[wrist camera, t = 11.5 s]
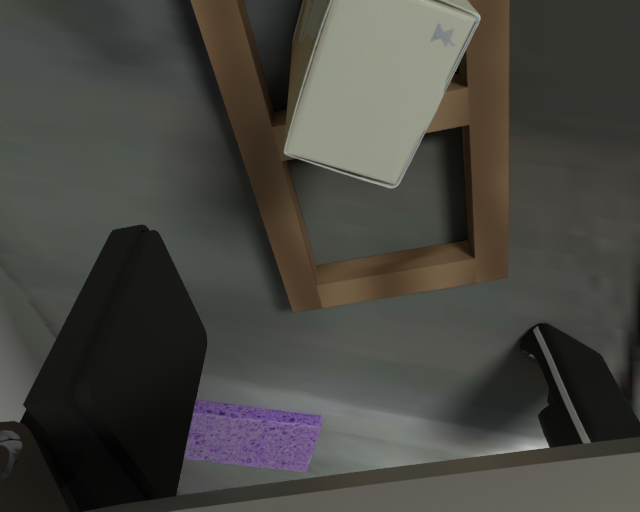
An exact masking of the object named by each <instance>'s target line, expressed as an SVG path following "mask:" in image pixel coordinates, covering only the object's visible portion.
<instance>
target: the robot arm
mask: <svg viewBox="0 0 640 512" xmlns="http://www.w3.org/2000/svg"><path fill="white" fill-rule="evenodd" d="M206 348H207V336H206V331H205V328H204V326H203V324H202V322H201V320H200V318H199V316H198V314H197V311H196V309H195V307H194V305H193V303H192V301H191V299H190V297H189V295H188V293H187V290H186V288H185V286H184V284H183V282H182V280H181V278H180V276H179V274H178V272H177V269H176V267H175V265H174V263H173V261H172V259H171V257H170V255H169V253H168V251H167V248H166V246H165V244H164V242H163V240H162V238H161V236H160V234H159V233H158V232H157V231H155V230H152V231H150V230H149V229H148V228H147V227H146V226H145V225H137V226H132V227H126V228H121V229H116V230H113V231H112V232H111V233H110V235H109V237H108V239H107V241H106V243H105V245H104V247H103V249H102V251H101V253H100V255H99V257H98V259H97V260H96V262H95V264H94V266H93V268H92V270H91V272H90V274H89V276H88V278H87V280H86V282H85V284H84V286H83V288H82V290H81V292H80V294H79V296H78V298H77V300H76V302H75V304H74V306H73V308H72V310H71V312H70V313H69V315H68V317H67V319H66V321H65V323H64V325H63V327H62V329H61V331H60V333H59V335H58V337H57V339H56V341H55V343H54V345H53V347H52V349H51V351H50V353H49V355H48V357H47V359H46V361H45V363H44V365H43V366H42V369H41V370H40V372H39V374H38V376H37V378H36V380H35V382H34V384H33V386H32V388H31V390H30V392H29V394H28V396H27V398H26V400H25V402H24V404H23V405H24V407H25V408H26V412H25V413H24V415H23V417H22V419H21V421H20V423H19V422H15V421H9V422H0V512H640V437H635V438H626V439H618V440H609V441H601V442H593V443H585V444H577V445H569V446H561V447H553V448H544V449H536V450H528V451H520V452H512V453H504V454H496V455H488V456H480V457H472V458H464V459H456V460H448V461H440V462H432V463H424V464H416V465H408V466H400V467H392V468H384V469H376V470H369V471H361V472H353V473H345V474H338V475H330V476H322V477H314V478H307V479H299V480H291V481H284V482H276V483H268V484H260V485H253V486H245V487H237V488H230V489H222V490H215V491H208V492H201V493H194V494H188V495H181V496H176V493H177V489H178V484H179V479H180V474H181V469H182V464H183V460H184V455H185V450H186V445H187V440H188V435H189V431H190V426H191V421H192V416H193V411H194V406H195V402H196V397H197V392H198V387H199V382H200V377H201V372H202V368H203V363H204V358H205V353H206Z"/></svg>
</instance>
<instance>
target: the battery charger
mask: <svg viewBox="0 0 640 512" xmlns="http://www.w3.org/2000/svg"><path fill="white" fill-rule="evenodd" d="M520 348H521V352H522V354H523V355H524V356H525V357H527V358H529V359H530V360H532V361H534V362H536V363H538V364H540V367H541V369H542V371H543V374H544V376H545V379H546V381H547V384H548V386H549V394H548V399H547V401H548V404H549V406H547V407H546V408H544V409H543V410H542V411H541V412H540V413H539V415H538V418H539V421H540V424H541V427H542V430H543V433H544V435H545V438H546V440H547V442H548V445H549V447H550V448H553V447H561V446H569V445H577V444H585V443H593V442H601V441H609V440H618V439H626V438H635V437H640V422H639V420H638V418H637V417H636V415H635V413H634V412H633V410H632V408H631V406H630V405H629V403H628V401H627V400H626V398H625V396H624V395H623V393H622V391H621V390H620V388H619V386H618V384H617V383H616V381H615V379H614V377H613V375H612V374H611V372H610V370H609V368H608V366H607V365H606V363H605V361H604V359H603V357H602V356H601V355H600V354H599V353H597V352H596V351H594V350H592V349H591V348H589V347H587V346H586V345H584V344H582V343H581V342H579V341H577V340H576V339H574V338H572V337H570V336H569V335H567V334H565V333H563V332H562V331H560V330H558V329H556V328H554V327H553V326H551V325H549V324H547V323H544V324H542V325H540V326H537V327H536V328H534V329H533V332H531V333H530V334H529V335H528V336H527V337H526V338H525V339H524V340H523V341H522V343H521V345H520Z"/></svg>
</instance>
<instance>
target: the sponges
mask: <svg viewBox="0 0 640 512" xmlns="http://www.w3.org/2000/svg"><path fill="white" fill-rule="evenodd" d="M321 420H322V416H321V415H309V414H303V413H294V412H284V411H278V410H269V409H262V408H254V407H246V406H238V405H231V404H220V403H216V402H208V401H200V400H196V402H195V406H194V411H193V416H192V421H191V426H190V431H189V435H188V440H187V445H186V450H185V455H184V459H187V460H195V461H205V460H206V459H207V460H211V461H212V462H219V463H224V464H235V465H244V466H251V467H259V468H270V469H283V470H289V471H297V472H307V470H308V467H309V463H310V460H311V456H312V453H313V449H314V446H315V444H316V440H317V437H318V435H319V432H320V429H321Z"/></svg>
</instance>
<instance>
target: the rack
mask: <svg viewBox="0 0 640 512" xmlns="http://www.w3.org/2000/svg"><path fill="white" fill-rule="evenodd" d="M468 2H469V3H470V4H471V5H472V7H473V8H474V9H475V10H476V11H477V12H478V13H479V15H480V17H481V19H480V22H479V25H478V26H477V28H476V30H475V32H474V34H473V36H472V38H471V40H470V42H469V44H468V47H467V49H466V51H465V53H464V55H463V57H462V59H461V61H460V63H459V74H455V75H453V77H452V79H451V81H450V83H449V85H448V87H447V89H446V91H445V94H444V96H443V98H442V100H441V102H440V104H439V107H438V109H437V111H436V113H435V115H434V117H433V119H432V121H431V123H430V125H429V127H428V129H427V130H426V132H425V133H430V132H435V131H440V130H445V129H450V128H455V127H460V126H462V139H463V158H464V177H465V196H466V215H467V235H468V240H464V241H458V242H452V243H446V244H441V245H435V246H429V247H423V248H417V249H412V250H406V251H400V252H394V253H388V254H382V255H377V256H371V257H365V258H359V259H353V260H347V261H342V262H336V263H330V264H324V265H318V266H316V264H315V260H314V256H313V253H312V249H311V245H310V242H309V238H308V234H307V231H306V227H305V223H304V220H303V216H302V212H301V209H300V205H299V201H298V198H297V194H296V190H295V187H294V183H293V179H292V176H291V172H290V168H289V165H288V161H287V160H291V159H296V158H293V157H290V156H287V155H285V154H284V152H283V149H284V139H285V127H286V115H287V109H285V110H280V111H276V112H274V110H273V106H272V102H271V99H270V95H269V92H268V88H267V84H266V81H265V77H264V73H263V70H262V66H261V62H260V59H259V55H258V51H257V48H256V44H255V40H254V37H253V33H252V29H251V26H250V22H249V18H248V15H247V11H246V7H245V4H244V0H191V3H192V6H193V10H194V13H195V16H196V19H197V22H198V25H199V28H200V31H201V34H202V37H203V40H204V43H205V46H206V49H207V52H208V55H209V58H210V61H211V64H212V67H213V70H214V73H215V76H216V80H217V83H218V86H219V89H220V92H221V95H222V98H223V101H224V104H225V107H226V110H227V113H228V116H229V119H230V122H231V125H232V128H233V131H234V134H235V137H236V140H237V143H238V146H239V150H240V153H241V156H242V159H243V162H244V165H245V168H246V171H247V174H248V177H249V180H250V183H251V186H252V189H253V192H254V195H255V198H256V201H257V204H258V207H259V210H260V213H261V216H262V220H263V223H264V226H265V229H266V232H267V235H268V238H269V241H270V244H271V247H272V250H273V253H274V256H275V259H276V262H277V265H278V268H279V271H280V274H281V277H282V280H283V283H284V286H285V290H286V293H287V296H288V299H289V302H290V305H291V308H292V311H293V313H295V312H301V311H307V310H314V309H320V308H326V307H332V306H338V305H344V304H350V303H357V302H363V301H369V300H375V299H381V298H387V297H394V296H400V295H406V294H412V293H418V292H424V291H430V290H437V289H443V288H449V287H455V286H461V285H467V284H474V283H480V282H486V281H492V280H498V279H504V278H508V203H509V0H468Z"/></svg>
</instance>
